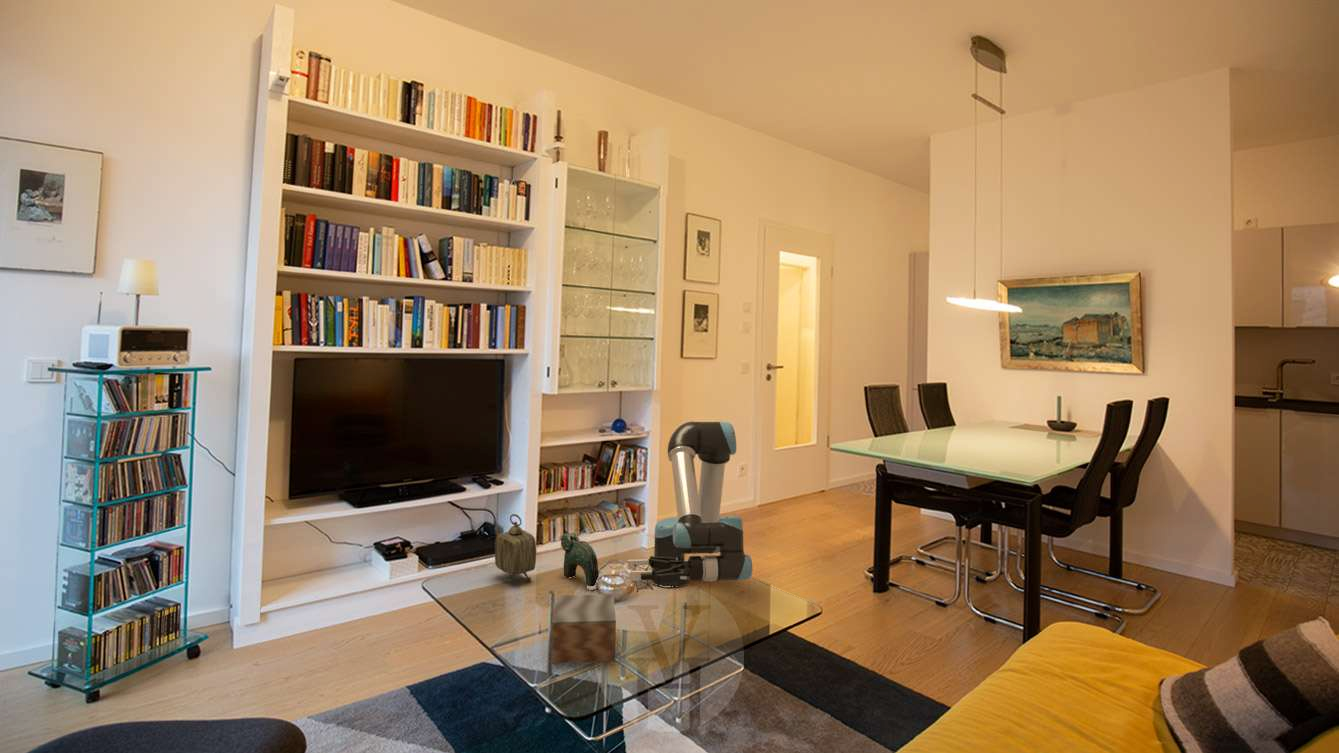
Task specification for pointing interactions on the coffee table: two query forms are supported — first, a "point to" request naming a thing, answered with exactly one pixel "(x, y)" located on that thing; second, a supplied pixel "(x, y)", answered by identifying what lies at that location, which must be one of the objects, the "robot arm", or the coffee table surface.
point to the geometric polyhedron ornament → (646, 583)
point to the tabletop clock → (515, 551)
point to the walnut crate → (583, 628)
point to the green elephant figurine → (579, 557)
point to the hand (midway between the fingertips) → (628, 570)
